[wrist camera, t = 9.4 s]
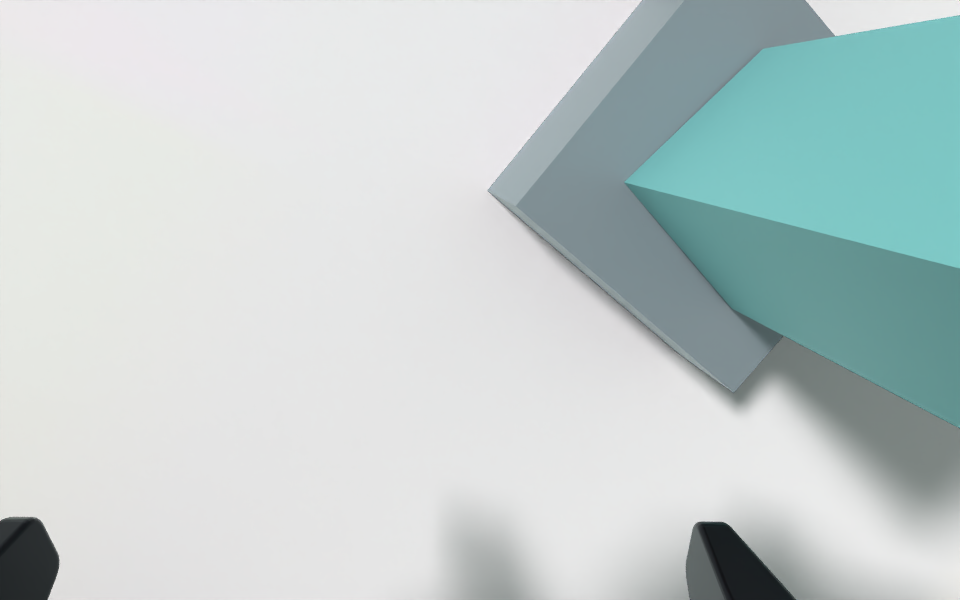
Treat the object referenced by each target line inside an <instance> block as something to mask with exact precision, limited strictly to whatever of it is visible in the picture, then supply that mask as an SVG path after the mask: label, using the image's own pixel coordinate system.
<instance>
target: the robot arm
mask: <svg viewBox="0 0 960 600" xmlns="http://www.w3.org/2000/svg"><path fill="white" fill-rule="evenodd" d="M58 569H59V555H58V553H57V551H56V549H55V547H54V545H53V543H52V541H51V539H50V537H49V535H48V533H47V531H46V529H45V527H44V525H43V523H42V522H41V521H40V520H39V519H37V518H35V517H9V518H5V519H3V520H1V521H0V600H48V597H49V595H50V592H51V589H52V587H53V584H54V582H55V579H56V576H57V573H58ZM686 578H687V585H688V591H689V597H690V600H796V599H795V598H794V597H793V596H792V595H791V593H790V592H789V591H788V590H787V589H786V588H785V587H784V586H783V585H782V583H781V582H780V581H779V580H778V579H777V578H776V577H775V576H774V575H773V573H772V572H771V571H770V570H769V569H768V568H767V567H766V566H765V565H764V563H763V562H762V561H761V560H760V559H759V558H758V557H757V556H756V554H755V553H754V552H753V551H752V550H751V549H750V548H749V547H748V546H747V544H746V543H745V542H744V541H743V540H742V539H741V538H740V537H739V536H738V534H737V533H736V532H735V531H734V530H733V529H732V528H731V527H730V526H729V525H728V524H726V523H724V522H697V523H696V524H695V525H694V527H693V530H692V535H691V540H690V545H689V550H688V555H687V560H686Z"/></svg>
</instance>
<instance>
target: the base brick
mask: <svg viewBox="0 0 960 600" xmlns="http://www.w3.org/2000/svg"><path fill="white" fill-rule="evenodd" d="M829 37H835V35H834V34H833V33H832V32H831V31H830V29H829V28H828V27H827V26H826V25H825V23H824V22H823V21H822V20H821V19H820V17H819V16H818V15H817V14H816V13H815V11H814V10H813V9H812V8H811V7H810V5H809V4H808V3H807V2H806V1H805V0H642V1H641V3H640V4H639V5H638V6H637V8H636V9H635V10H634V11H633V12H632V14H631V15H630V16H629V17H628V19H627V20H626V21H625V22H624V24H623V25H622V26H621V27H620V28H619V30H618V31H617V32H616V33H615V35H614V36H613V37H612V38H611V39H610V41H609V42H608V43H607V44H606V46H605V47H604V48H603V49H602V51H601V52H600V53H599V54H598V55H597V57H596V58H595V59H594V60H593V62H592V63H591V64H590V65H589V66H588V68H587V69H586V70H585V71H584V73H583V74H582V75H581V76H580V78H579V79H578V80H577V81H576V82H575V84H574V85H573V86H572V87H571V89H570V90H569V91H568V92H567V93H566V95H565V96H564V97H563V98H562V100H561V101H560V102H559V103H558V105H557V106H556V107H555V108H554V109H553V111H552V112H551V113H550V114H549V116H548V117H547V118H546V119H545V120H544V122H543V123H542V124H541V125H540V127H539V128H538V129H537V130H536V132H535V133H534V134H533V135H532V136H531V138H530V139H529V140H528V141H527V143H526V144H525V145H524V146H523V147H522V149H521V150H520V151H519V152H518V154H517V155H516V156H515V157H514V159H513V160H512V161H511V162H510V163H509V165H508V166H507V167H506V168H505V170H504V171H503V172H502V173H501V174H500V176H499V177H498V178H497V179H496V181H495V182H494V183H493V184H492V185H491V187H490V188H489V189H488V190H487V191H488V192H490V193H491V194H492V195H493V196H494V197H495V198H497V199H498V200H499V201H500V202H501V203H503V204H504V205H505V206H506V207H507V208H508V209H510V210H511V211H512V212H513V213H514V214H515V215H517V216H518V217H519V218H520V219H521V220H522V221H524V222H525V223H526V224H527V225H528V226H530V227H531V228H532V229H533V230H534V231H535V232H537V233H538V234H539V235H540V236H541V237H542V238H544V239H545V240H546V241H547V242H548V243H549V244H551V245H552V246H553V247H554V248H555V249H556V250H558V251H559V252H560V253H561V254H562V255H564V256H565V257H566V258H567V259H568V260H569V261H571V262H572V263H573V264H574V265H575V266H576V267H578V268H579V269H580V270H581V271H582V272H583V273H585V274H586V275H587V276H588V277H589V278H590V279H592V280H593V281H594V282H595V283H596V284H598V285H599V286H600V287H601V288H602V289H603V290H605V291H606V292H607V293H608V294H609V295H610V296H612V297H613V298H614V299H615V300H616V301H617V302H619V303H620V304H621V305H622V306H623V307H624V308H626V309H627V310H628V311H629V312H630V313H632V314H633V315H634V316H635V317H636V318H637V319H639V320H640V321H641V322H642V323H643V324H644V325H646V326H647V327H648V328H649V329H650V330H651V331H653V332H654V333H655V334H656V335H657V336H658V337H660V338H661V339H662V340H663V341H664V342H666V343H667V344H668V345H669V346H670V347H671V348H673V349H674V350H675V351H676V352H677V353H679V354H680V355H681V356H683V357H684V358H685V359H687V360H688V361H690V362H691V363H692V364H694V365H695V366H697V367H698V368H699V369H701V370H702V371H704V372H705V373H706V374H708V375H709V376H711V377H712V378H713V379H715V380H716V381H718V382H719V383H720V384H722V385H723V386H725V387H726V388H727V389H729V390H730V391H732V392H733V393H734V392H735V391H736V390H737V389H738V388H739V386H740V385H741V384H742V383H743V382H744V381H745V380H746V378H747V377H748V376H749V375H750V374H751V373H752V372H753V370H754V369H755V368H756V367H757V366H758V365H759V364H760V362H761V361H762V360H763V359H764V358H765V357H766V356H767V354H768V353H769V352H770V351H771V350H772V349H773V348H774V346H775V345H776V344H777V343H778V342H779V341H780V339H781V338H782V337H783V335H781V334H779V333H777V332H776V331H774V330H772V329H770V328H768V327H766V326H764V325H762V324H760V323H758V322H757V321H755V320H753V319H751V318H749V317H747V316H745V315H743V314H741V313H739V312H737V311H736V310H734V309H732V308H731V307H730V306H729V305H728V304H727V302H726V301H725V300H724V299H723V298H722V297H721V295H720V294H719V293H718V292H717V291H716V290H715V288H714V287H713V286H712V285H711V284H710V283H709V281H708V280H707V279H706V278H705V277H704V275H703V274H702V273H701V272H700V271H699V270H698V268H697V267H696V266H695V265H694V264H693V263H692V261H691V260H690V259H689V258H688V257H687V256H686V254H685V253H684V252H683V251H682V250H681V249H680V247H679V246H678V245H677V244H676V243H675V242H674V240H673V239H672V238H671V237H670V236H669V234H668V233H667V232H666V231H665V230H664V229H663V227H662V226H661V225H660V224H659V223H658V222H657V220H656V219H655V218H654V217H653V216H652V215H651V213H650V212H649V211H648V210H647V209H646V208H645V206H644V205H643V204H642V203H641V202H640V201H639V199H638V198H637V197H636V196H635V195H634V194H633V192H632V191H631V190H630V189H629V188H628V186H627V185H626V184H625V183H624V182H625V181H626V180H627V179H628V178H629V177H630V176H631V175H632V174H633V173H634V172H635V171H636V170H637V169H638V168H639V167H640V166H641V165H642V164H644V163H645V162H646V161H647V160H648V159H649V158H650V157H651V156H652V155H653V154H654V153H655V152H656V151H657V150H658V149H659V148H660V147H661V146H662V145H663V144H664V143H665V142H666V141H668V140H669V139H670V138H671V137H672V136H673V135H674V134H675V133H676V132H677V131H678V130H679V129H680V128H681V127H682V126H683V125H684V124H685V123H686V122H687V121H688V120H689V119H690V118H691V117H693V116H694V115H695V114H696V113H697V112H698V111H699V110H700V109H701V108H702V107H703V106H704V105H705V104H706V103H707V102H708V101H709V100H710V99H711V98H712V97H713V96H714V95H715V94H717V93H718V92H719V91H720V90H721V89H722V88H723V87H724V86H725V85H726V84H727V83H728V82H729V81H730V80H731V79H732V78H733V77H734V76H735V75H736V74H737V73H738V72H739V71H740V70H742V69H743V68H744V67H745V66H746V65H747V64H748V63H749V62H750V61H751V60H752V59H753V58H754V57H755V56H756V55H757V54H758V53H759V52H760V51H761V50H762V49H764V48H770V47H776V46H782V45H788V44H794V43H800V42H806V41H811V40H817V39H823V38H829Z"/></svg>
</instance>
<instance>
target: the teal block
mask: <svg viewBox="0 0 960 600" xmlns="http://www.w3.org/2000/svg"><path fill="white" fill-rule="evenodd" d="M624 183H625V184H626V185H627V186H628V188H629V189H630V190H631V191H632V192H633V194H634V195H635V196H636V197H637V198H638V199H639V201H640V202H641V203H642V204H643V205H644V206H645V208H646V209H647V210H648V211H649V212H650V213H651V215H652V216H653V217H654V218H655V219H656V220H657V222H658V223H659V224H660V225H661V226H662V227H663V229H664V230H665V231H666V232H667V233H668V234H669V236H670V237H671V238H672V239H673V240H674V242H675V243H676V244H677V245H678V246H679V247H680V249H681V250H682V251H683V252H684V253H685V254H686V256H687V257H688V258H689V259H690V260H691V261H692V263H693V264H694V265H695V266H696V267H697V268H698V270H699V271H700V272H701V273H702V274H703V275H704V277H705V278H706V279H707V280H708V281H709V283H710V284H711V285H712V286H713V287H714V288H715V290H716V291H717V292H718V293H719V294H720V295H721V297H722V298H723V299H724V300H725V301H726V302H727V304H728V305H729V306H730V307H731V308H732V309H734V310H736V311H737V312H739V313H741V314H743V315H745V316H747V317H749V318H751V319H753V320H755V321H757V322H758V323H760V324H762V325H764V326H766V327H768V328H770V329H772V330H774V331H776V332H777V333H779V334H781V335H783V336H785V337H787V338H789V339H791V340H793V341H795V342H796V343H798V344H800V345H802V346H804V347H806V348H808V349H810V350H812V351H814V352H815V353H817V354H819V355H821V356H823V357H825V358H827V359H829V360H831V361H833V362H834V363H836V364H838V365H840V366H842V367H844V368H846V369H848V370H850V371H852V372H853V373H855V374H857V375H859V376H861V377H863V378H865V379H867V380H869V381H871V382H872V383H874V384H876V385H878V386H880V387H882V388H884V389H886V390H888V391H890V392H891V393H893V394H895V395H897V396H899V397H901V398H903V399H905V400H907V401H909V402H910V403H912V404H914V405H916V406H918V407H920V408H922V409H924V410H926V411H928V412H929V413H931V414H933V415H935V416H937V417H939V418H941V419H943V420H945V421H947V422H948V423H950V424H952V425H954V426H956V427H958V428H960V15H958V16H953V17H947V18H941V19H935V20H929V21H923V22H917V23H911V24H906V25H900V26H894V27H888V28H882V29H876V30H870V31H864V32H859V33H853V34H847V35H841V36H835V37H829V38H823V39H817V40H811V41H806V42H800V43H794V44H788V45H782V46H776V47H770V48H764V49H762V50H761V51H760V52H759V53H758V54H757V55H756V56H755V57H754V58H753V59H752V60H751V61H750V62H749V63H748V64H747V65H746V66H745V67H744V68H743V69H742V70H740V71H739V72H738V73H737V74H736V75H735V76H734V77H733V78H732V79H731V80H730V81H729V82H728V83H727V84H726V85H725V86H724V87H723V88H722V89H721V90H720V91H719V92H718V93H717V94H715V95H714V96H713V97H712V98H711V99H710V100H709V101H708V102H707V103H706V104H705V105H704V106H703V107H702V108H701V109H700V110H699V111H698V112H697V113H696V114H695V115H694V116H693V117H691V118H690V119H689V120H688V121H687V122H686V123H685V124H684V125H683V126H682V127H681V128H680V129H679V130H678V131H677V132H676V133H675V134H674V135H673V136H672V137H671V138H670V139H669V140H668V141H666V142H665V143H664V144H663V145H662V146H661V147H660V148H659V149H658V150H657V151H656V152H655V153H654V154H653V155H652V156H651V157H650V158H649V159H648V160H647V161H646V162H645V163H644V164H642V165H641V166H640V167H639V168H638V169H637V170H636V171H635V172H634V173H633V174H632V175H631V176H630V177H629V178H628V179H627V180H626V181H625V182H624Z"/></svg>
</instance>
